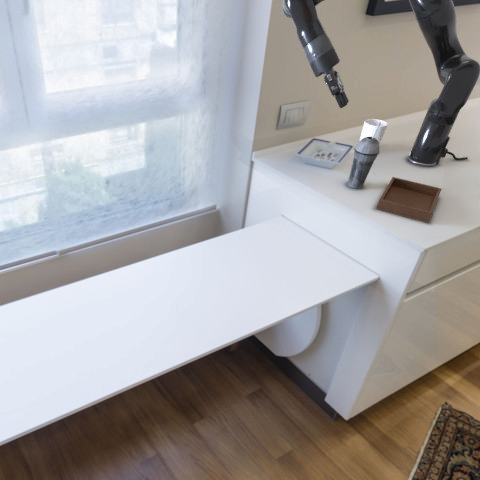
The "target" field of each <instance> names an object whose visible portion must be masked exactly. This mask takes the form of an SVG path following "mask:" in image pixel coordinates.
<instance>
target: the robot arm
mask: <svg viewBox="0 0 480 480" xmlns="http://www.w3.org/2000/svg"><path fill="white" fill-rule="evenodd" d="M325 1H326V0H282V1H281V12H282V14H283V15H284V16H285V17H286V18H288V19H292V21H293V23H294V26H295V34H296V37H297V39H298V41H299V44H300V46H301V47H302V50H303V53H304V56H305V58H306V60H307V62H308V65H309V67H310V68H311V70H312V73H313V74H314V77H316V78H319V77H320V76H322V75H324V76H323V79H324V80H323V81H324V83H325V85H326V87H327V89H328V91H329V93H331V96H332V98H333V97H334V99H335V101H336V103H337V105H338V107H339V109H343V108H345V107H347V105H348V103H349V98H348V96H347V94H346V92H345V87H344V83H343V80H342V79H341V76H340V73H339V72H338V71H337V70H335V69H334V67H335V66H337V65H338V64H339V63H340V62H341V59H340V57H339V55H338V54H337V50H336V49H335V46H334V45H333V43H332V41H331V38H330V37H329V35H328V34H327V32H326V30H325V27H324V25H323V24H322V22H321V19H320V18H319V16H318V15H319V14H318V11H317V7H316V6H318V5H319V4H321V3H323V2H325ZM408 2H409V5H410V7H411V9H412V12H413V15H414V18H415V20H416V23H417V25H418V27H419V30H420V32H421V34H422V36H423V38H424V40H425V43H426V44H427V46H428V48H429V50H430V52H431V54H432V58H433V61H434V64H435V68H436V73H437V77H438V80H439V81H440V82H439V83H441V85H443V87H442V89H441V92H440V94H439V96H437V98H434V99H432V100H431V101H430V103H429V106H428V109H427V111H426V112H425V116H424V118H423V121H422V123H421V126H420V127H419V130H418V134H417V136H416V139H415V140H414V143H413V146H412V147H411V149H410V150H409V152H408V157H407V161H408V162H409V163H411V164H413V165H415V166H420V167H434V166H436V165H439V163H440V161H441V159H444V158H446V156H447V155H449V156H451V157H452V159H454V161H463V160H468V158H469V157H468V156H465V157H456V155H455V154H454V153H453V152H451V151H449V149H448V148H447V146H448V143H449V142H450V139H451V137H450V134H451V131H452V129H453V126H454V125H455V122H456V120H457V117H458V116H459V113H460V111H461V109H462V108H463V107H464V106H465V105H466V104H467V102H468V100H469V99H470V96H471V94H472V92H473V90H474V88H475V86H476V85H477V82H478V80H479V77H480V63H479V61H477V60H476V59H474V58H472V57H470V56H468V55H467V53H466V52H465V51H464V49H463V47H462V44H461V42H460V39H459V38H458V32H457V22H458V21H457V11H456V7H455V5H454V1H453V0H408Z"/></svg>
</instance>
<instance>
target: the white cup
mask: <svg viewBox="0 0 480 480" xmlns="http://www.w3.org/2000/svg"><path fill="white" fill-rule="evenodd" d="M379 122H381V124H380V126H379V128H378V130H377V132H376V135H375V137H374V138H376V139H377V141H378V142H379V145H380V144H381V143H382V139H383V137H384V135H385V131H386V130H387V127H388V125H389V124H388V122H386V121H384V120H383V119H382V120H381V119H377V118H367V119H366V120H364V122H363V125H362V128H361V129H362V130H361V133H360V137H359V141H360V140H361V139H363V138H365V137H373V135H374V133H375V130H376V128H377V126H378V124H379Z"/></svg>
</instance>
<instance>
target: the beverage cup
mask: <svg viewBox="0 0 480 480" xmlns="http://www.w3.org/2000/svg"><path fill="white" fill-rule="evenodd" d="M380 124H381V122H379V124H378V126H377V128H376V130H375V133H374V135H373V137H365V138H363V139H361V140H360V139H359V140H358V142H357V144H356V145H355V147H354V152H353V159H352V162H351V163H352V164H351V168H350V173H349V177H348V180H347V181H348V182H347V186H348V187H349V188H351V189H355V190H359V189H360V190H361V189H362V188H363V186H364V184H365V182H366V180H367V177H368V176H369V173H370V171H371V169H372V167H373V164H374V162H375V160H376V159H377V157H378V155H379V154H380V149H381V148H380V146H381V145H380V144H379V142H378V141H377V139H376V138H374V137H375V135H376V132H377V130H378V128H379V126H380Z"/></svg>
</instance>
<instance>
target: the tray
mask: <svg viewBox="0 0 480 480" xmlns="http://www.w3.org/2000/svg"><path fill="white" fill-rule="evenodd" d="M441 193H442V188H441V187H437V186H431V185H428V184H425V183H420V182H416V181H411V180H408V179H403V178H399V177H395V176H392V177H391V179H390V180H389V183H388V184H387V186H386V187H385V189H384V191H383V193H382V195H380V198H379V199H378V202H377V204H376V207H375V209H376V210H378V211H382V212H386V213H390V214H392V215H393V214H394V215H396V216H397V215H398V216H401V217H405V218H408V219H412V220H415V221H419V222H423V223H427V224H428V223H429V222H430V219H431V218H432V215H433V213H434V211H435V207H436V205H437V203H438V200H439V198H440V195H441Z"/></svg>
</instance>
